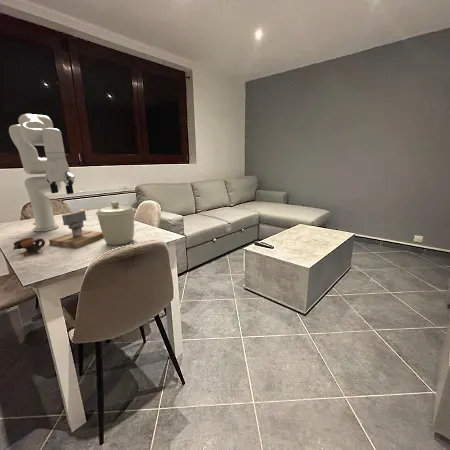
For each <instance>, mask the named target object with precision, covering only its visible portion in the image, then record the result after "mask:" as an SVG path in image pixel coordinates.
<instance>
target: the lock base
mask: <svg viewBox="0 0 450 450" xmlns="http://www.w3.org/2000/svg"><path fill="white" fill-rule="evenodd" d="M82 228H83V227H82ZM82 228H78V229H71V232H68V233H66V234H62V235H60V236H56V237H54V238H50V239H48V242H49V245H51V246H58V247H66V248H75V249H78V248H81V247H84V246H86V245H89V244H91V243H93V242H96V241H98V240H101V239H104V237H103V234H102V231H93V230H82Z"/></svg>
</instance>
